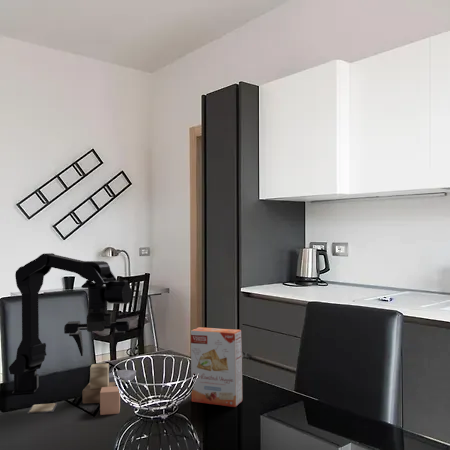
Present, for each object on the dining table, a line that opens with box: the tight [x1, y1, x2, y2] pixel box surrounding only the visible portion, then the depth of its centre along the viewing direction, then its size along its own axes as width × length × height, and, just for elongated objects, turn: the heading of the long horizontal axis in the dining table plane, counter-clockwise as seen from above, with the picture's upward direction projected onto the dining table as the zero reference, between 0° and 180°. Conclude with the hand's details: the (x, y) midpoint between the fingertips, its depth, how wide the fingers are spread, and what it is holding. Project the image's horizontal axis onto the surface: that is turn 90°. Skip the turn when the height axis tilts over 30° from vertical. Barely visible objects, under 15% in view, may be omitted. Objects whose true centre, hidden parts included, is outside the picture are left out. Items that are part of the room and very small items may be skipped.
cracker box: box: [190, 326, 243, 408], centre depth 139 cm, size 14×6×21 cm, turn 68°
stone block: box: [109, 369, 137, 386], centre depth 160 cm, size 12×5×10 cm
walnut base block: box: [81, 382, 115, 404], centre depth 144 cm, size 8×8×4 cm
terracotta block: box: [99, 386, 121, 416], centre depth 133 cm, size 5×5×6 cm
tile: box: [27, 402, 58, 415], centre depth 136 cm, size 7×7×1 cm
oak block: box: [89, 362, 110, 389], centre depth 144 cm, size 5×5×6 cm
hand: (97, 355), depth 145 cm, fingers open, 9 cm apart
